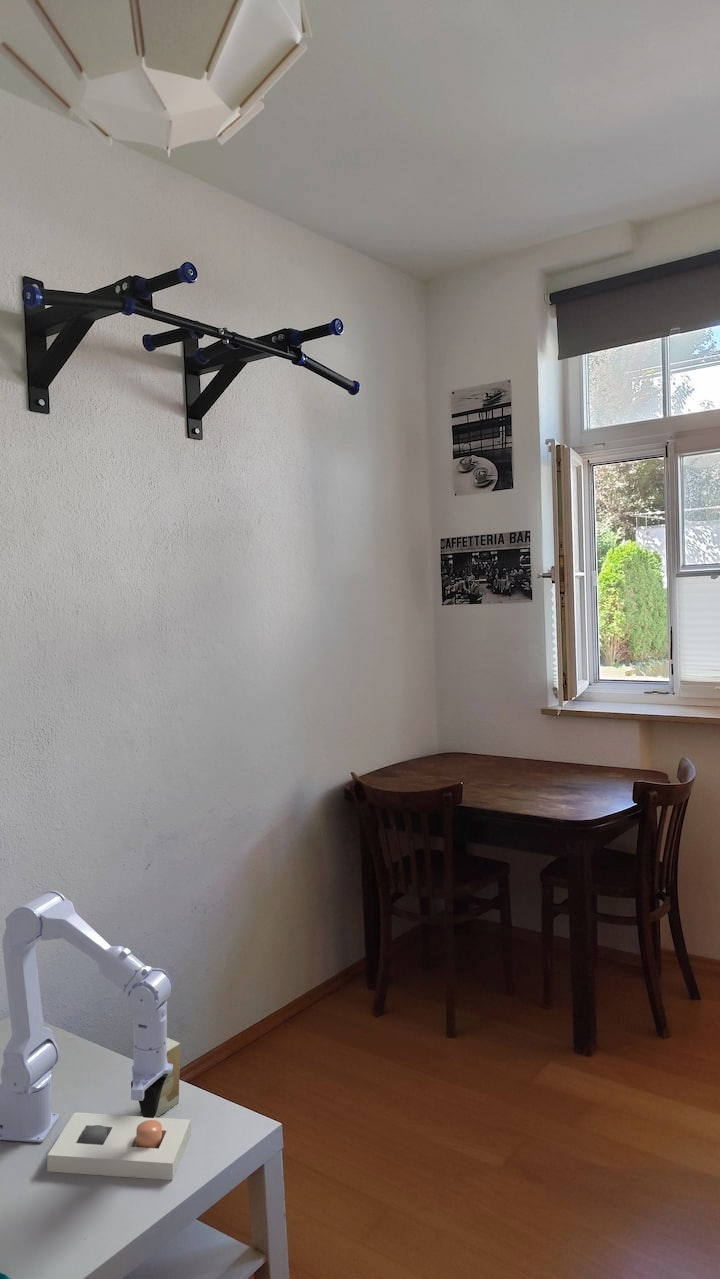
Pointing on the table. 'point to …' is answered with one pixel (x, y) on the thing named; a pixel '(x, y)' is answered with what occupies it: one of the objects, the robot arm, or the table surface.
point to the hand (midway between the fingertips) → (149, 1115)
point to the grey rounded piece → (94, 1135)
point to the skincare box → (170, 1079)
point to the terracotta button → (149, 1134)
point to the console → (119, 1148)
